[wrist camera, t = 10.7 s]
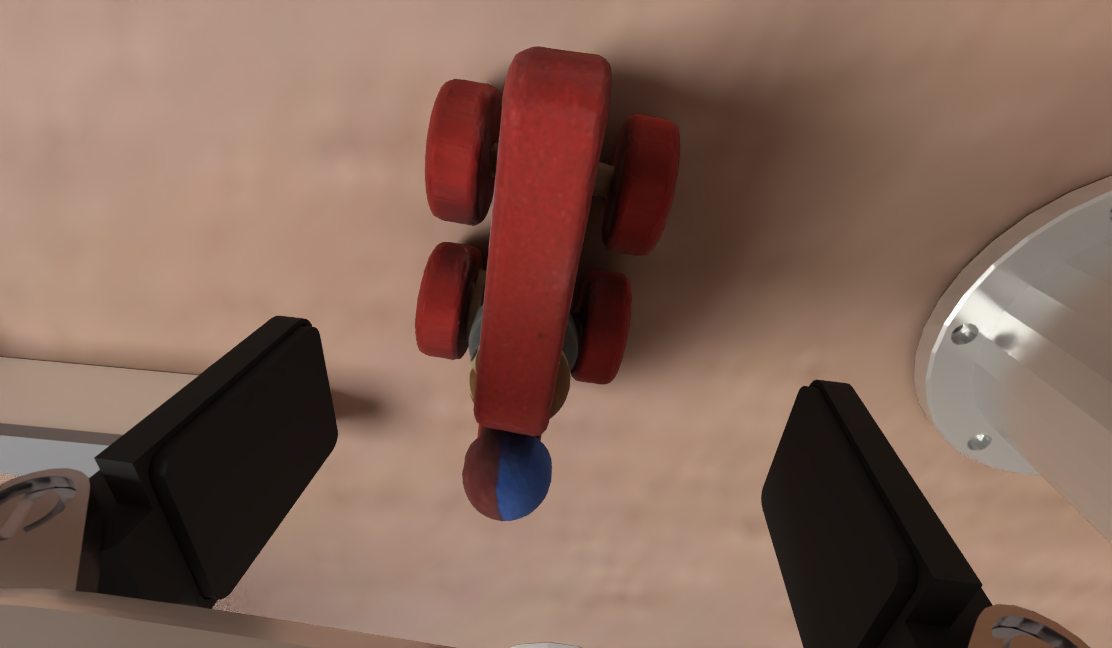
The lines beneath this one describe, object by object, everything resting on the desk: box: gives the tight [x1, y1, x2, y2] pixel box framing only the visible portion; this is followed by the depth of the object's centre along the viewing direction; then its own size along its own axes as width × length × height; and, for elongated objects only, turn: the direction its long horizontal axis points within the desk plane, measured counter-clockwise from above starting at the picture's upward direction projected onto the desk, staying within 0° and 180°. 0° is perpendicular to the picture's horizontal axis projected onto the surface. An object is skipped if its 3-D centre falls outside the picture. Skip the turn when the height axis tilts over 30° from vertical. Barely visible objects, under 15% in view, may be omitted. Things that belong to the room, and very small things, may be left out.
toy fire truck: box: [415, 47, 680, 521], centre depth 14 cm, size 7×12×10 cm, turn 169°
